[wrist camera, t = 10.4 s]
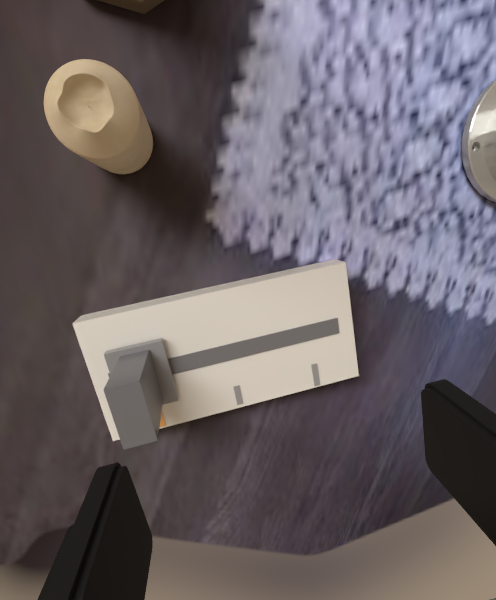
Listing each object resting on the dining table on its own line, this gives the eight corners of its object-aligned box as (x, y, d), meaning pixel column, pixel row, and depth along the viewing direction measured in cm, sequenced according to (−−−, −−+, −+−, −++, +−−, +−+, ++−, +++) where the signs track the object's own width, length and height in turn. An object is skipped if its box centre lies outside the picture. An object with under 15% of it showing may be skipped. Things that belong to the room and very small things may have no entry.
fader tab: (162, 337, 31) (155, 370, 24) (178, 396, 32) (175, 441, 26) (105, 351, 30) (82, 388, 24) (124, 410, 32) (108, 459, 25)
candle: (159, 170, 30) (145, 148, 20) (94, 178, 29) (49, 160, 20) (146, 101, 29) (124, 42, 19) (77, 108, 28) (19, 51, 18)
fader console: (334, 259, 35) (346, 262, 32) (348, 365, 38) (359, 376, 35) (81, 315, 32) (72, 323, 29) (118, 425, 35) (112, 441, 32)
